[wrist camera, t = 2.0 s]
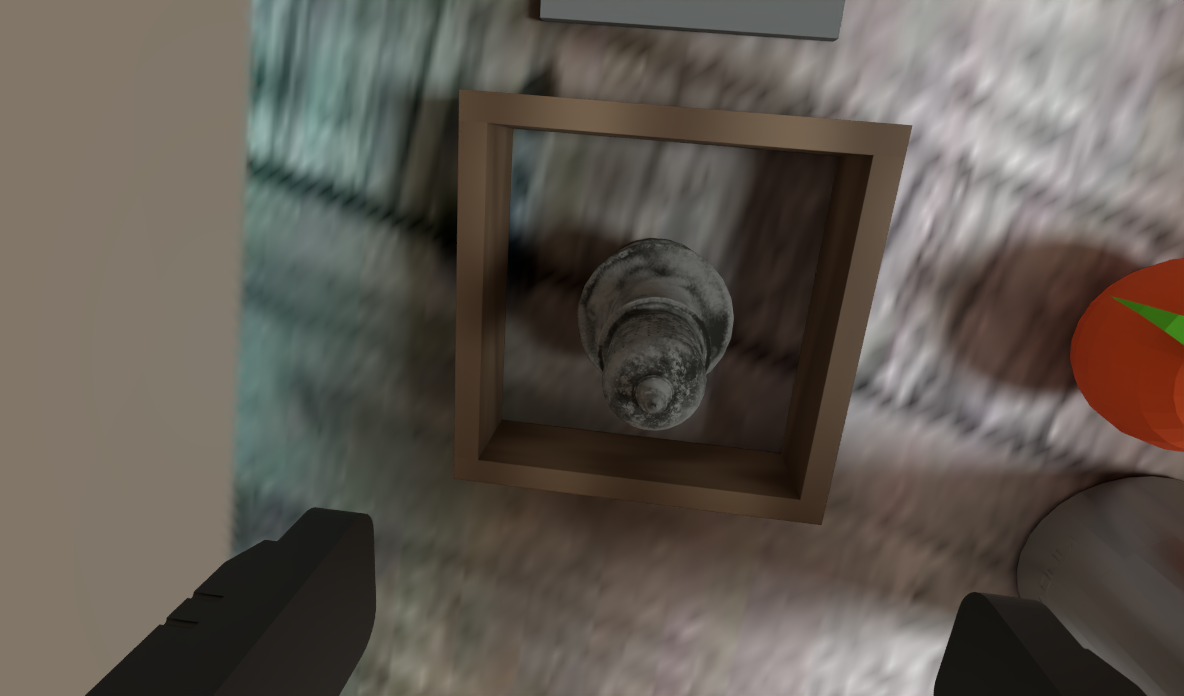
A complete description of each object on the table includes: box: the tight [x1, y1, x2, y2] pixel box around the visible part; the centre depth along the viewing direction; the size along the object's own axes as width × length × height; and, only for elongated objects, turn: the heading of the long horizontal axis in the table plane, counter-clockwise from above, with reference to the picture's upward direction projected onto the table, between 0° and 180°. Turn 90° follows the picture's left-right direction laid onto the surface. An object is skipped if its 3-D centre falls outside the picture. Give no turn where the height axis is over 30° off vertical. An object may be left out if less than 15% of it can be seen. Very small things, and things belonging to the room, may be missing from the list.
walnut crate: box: [454, 89, 912, 525], centre depth 24 cm, size 15×15×4 cm
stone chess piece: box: [577, 239, 734, 431], centre depth 21 cm, size 6×6×12 cm
